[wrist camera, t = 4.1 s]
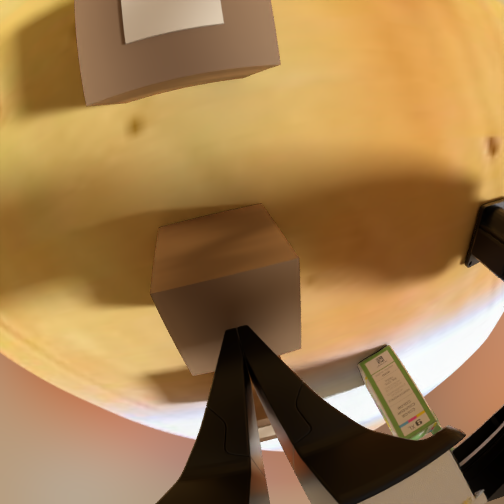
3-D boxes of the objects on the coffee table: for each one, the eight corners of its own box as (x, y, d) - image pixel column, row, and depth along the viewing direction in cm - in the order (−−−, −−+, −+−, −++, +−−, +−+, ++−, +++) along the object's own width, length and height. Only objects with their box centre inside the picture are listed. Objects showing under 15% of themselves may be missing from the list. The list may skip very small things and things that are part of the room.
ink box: (354, 363, 24) (416, 476, 13) (388, 342, 23) (457, 448, 12) (364, 385, 28) (412, 474, 16) (392, 367, 27) (445, 453, 16)
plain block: (260, 202, 13) (298, 257, 9) (270, 283, 16) (301, 348, 12) (158, 226, 13) (150, 293, 8) (186, 303, 15) (192, 376, 11)
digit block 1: (228, -17, 7) (256, -74, 3) (242, 78, 10) (282, 64, 6) (110, 7, 7) (71, -37, 2) (124, 103, 9) (81, 107, 5)
